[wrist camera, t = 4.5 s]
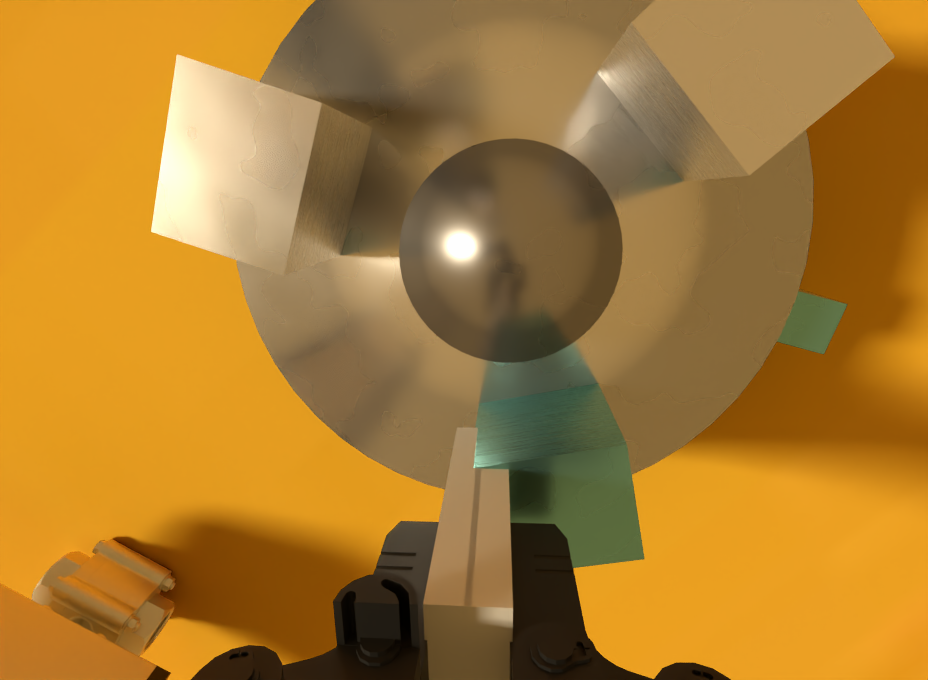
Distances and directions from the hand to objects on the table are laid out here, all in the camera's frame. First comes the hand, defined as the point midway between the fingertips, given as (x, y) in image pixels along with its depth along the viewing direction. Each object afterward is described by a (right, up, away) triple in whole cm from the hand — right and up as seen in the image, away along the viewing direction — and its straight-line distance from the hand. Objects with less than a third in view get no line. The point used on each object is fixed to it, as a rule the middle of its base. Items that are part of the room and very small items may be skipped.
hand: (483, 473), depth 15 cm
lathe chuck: (+1, +7, +2) cm, 7 cm away
